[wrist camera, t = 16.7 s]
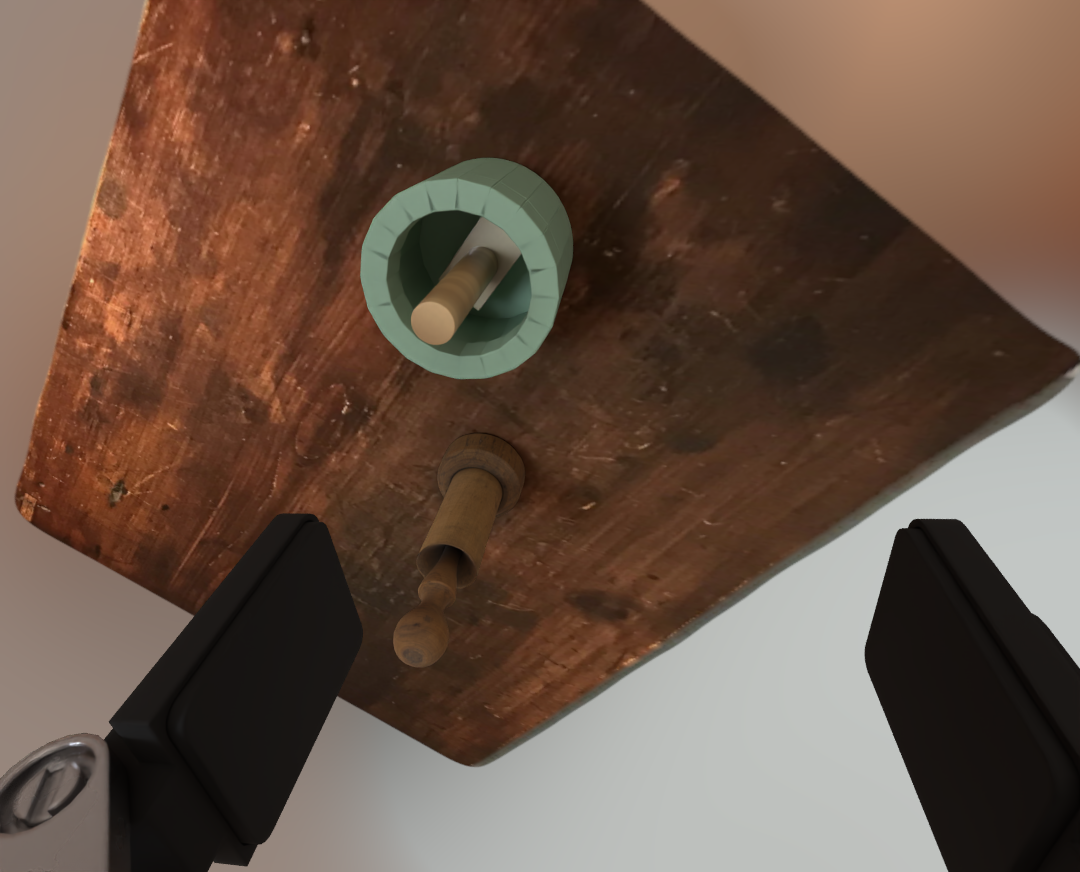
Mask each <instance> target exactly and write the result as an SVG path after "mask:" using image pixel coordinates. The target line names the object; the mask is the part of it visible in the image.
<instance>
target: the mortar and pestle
mask: <svg viewBox="0 0 1080 872" xmlns="http://www.w3.org/2000/svg"><path fill="white" fill-rule="evenodd" d="M437 480H438V486H439V489H440V491H441V493H442V495H443V497H444V500H443V502H442V504H441V507H440V509H439V511H438V513H437V515H436V518H435V520H434V522H433V524H432V526H431V529H430V531H429V533H428V535H427V537H426V539H425V541H424V543H423V545H422V548H421V550H420V552H419V554H418V556H417V567H418V570H419V572H420V573H421V574H422V576H423V577H424V580H423V581H422V583H421V585H420V586H419V589H418V594H419V597H420V599H421V600H422V601H421V603H420V605H419V606H418V607H416V608H414V609H413V610H411V611H410V612H408V613H407V614H406V615H405V616H403V617H402V619H401V620H400V621H399V622H398V624H397V626H396V628H395V632H394V637H393V644H394V649H395V652H396V654H397V656H398V657H399V658H400V659H401V661H403V662H404V663H406V664H408V665H410V666H413V667H426V666H429V665H431V664H433V663H435V662H436V661H437V660H438V659H439V658H440V657H441V656H442V655H443V654H444V652H445V650H446V648H447V645H448V642H449V630H448V626H447V622H446V619H445V616H444V609H445V608H447V607H449V606H451V605H452V604H453V603H454V601H455V597H456V589H460V588H464V587H467V586H469V585H470V584H472V583H473V582H474V581H475V579H476V577H477V574H478V571H479V568H480V564H481V561H482V557H483V554H484V551H485V547H486V544H487V541H488V538H489V535H490V531H491V528H492V525H493V522H494V519H495V517H498V516H501V515H504V514H506V513H507V512H509V511H510V510H511V509H512V508H513V507H514V506H515V505H516V503H517V501H518V499H519V497H520V494H521V491H522V487H523V484H524V480H525V468H524V464H523V461H522V459H521V457H520V456H519V455H518V453H517V452H516V451H515V450H514V448H513V447H512V446H510V445H509V444H508V443H507V442H505V441H503V440H502V439H500V438H497V437H495V436H492V435H488V434H482V433H474V434H468V435H464V436H462V437H460V438H458V439H456V440H455V441H454V442H453V443H452V444H451V445H450V446H449V447H448V449H447V450H446V452H445V455H444V457H443V459H442V461H441V463H440V466H439V469H438V474H437Z"/></svg>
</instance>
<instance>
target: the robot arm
mask: <svg viewBox="0 0 1080 872" xmlns="http://www.w3.org/2000/svg"><path fill="white" fill-rule="evenodd" d="M362 637H363V629H362V625H361V622H360V619H359V616H358V613H357V610H356V608H355V605H354V602H353V599H352V596H351V593H350V590H349V588H348V585H347V582H346V579H345V576H344V573H343V571H342V568H341V565H340V562H339V559H338V556H337V554H336V551H335V548H334V545H333V542H332V539H331V536H330V534H329V531H328V528H327V526H326V525H325V524H324V523H323V522H319V520H318V518H317V517H316V516H315V515H313V514H279V515H277V516H276V517H275V518H274V519H273V520H272V521H271V523H270V524H269V525H268V526H267V528H266V529H265V530H264V531H263V532H262V534H261V535H260V536H259V537H258V539H257V540H256V541H255V542H254V544H253V545H252V546H251V547H250V548H249V550H248V551H247V552H246V553H245V555H244V556H243V557H242V558H241V560H240V561H239V562H238V563H237V564H236V566H235V567H234V568H233V569H232V571H231V572H230V573H229V574H228V576H227V577H226V578H225V579H224V580H223V582H222V583H221V584H220V585H219V587H218V588H217V589H216V590H215V592H214V593H213V594H212V595H211V596H210V598H209V599H208V600H207V601H206V603H205V604H204V605H203V606H202V608H201V609H200V610H199V611H198V612H197V614H196V615H195V616H194V617H193V619H192V620H191V621H190V622H189V624H188V625H187V626H186V627H185V628H184V630H183V631H182V632H181V633H180V635H179V636H178V637H177V638H176V640H175V641H174V642H173V643H172V645H171V646H170V647H169V648H168V649H167V651H166V652H165V653H164V654H163V656H162V657H161V658H160V659H159V661H158V662H157V663H156V664H155V665H154V667H153V668H152V669H151V670H150V672H149V673H148V674H147V675H146V676H145V678H144V679H143V680H142V682H141V683H140V684H139V685H138V686H137V688H136V689H135V690H134V691H133V692H132V694H131V695H130V696H129V697H128V699H127V700H126V701H125V702H124V704H123V705H122V706H121V707H120V709H119V710H118V711H117V712H116V713H115V715H114V716H113V717H112V718H111V720H110V721H109V723H110V724H111V726H112V727H113V729H112V730H111V732H110V733H109V734H108V735H107V736H106V738H105V739H104V740H103V739H102V738H101V737H99V736H98V735H94V734H88V733H81V734H74V735H68V736H65V737H63V738H60V739H57V740H55V741H52V742H49V743H47V744H46V745H44V746H42V747H40V748H39V749H37V750H35V751H33V752H32V753H30V754H28V755H27V756H26V757H25V758H23V759H22V760H21V761H19V762H18V763H17V764H16V765H14V766H13V767H11V768H10V769H9V770H8V771H7V772H6V773H5V774H4V775H3V777H1V778H0V872H208V870H209V868H210V866H211V864H212V862H213V861H214V862H215V863H221V864H230V865H239V866H248V864H249V862H250V859H251V858H252V855H253V853H254V851H255V849H256V847H257V845H258V844H262V843H264V842H265V841H266V840H267V839H268V838H269V837H270V835H271V833H272V831H273V829H274V827H275V825H276V823H277V821H278V819H279V817H280V815H281V813H282V811H283V808H284V806H285V804H286V802H287V800H288V798H289V796H290V794H291V792H292V789H293V787H294V785H295V783H296V781H297V779H298V777H299V775H300V773H301V771H302V769H303V766H304V764H305V762H306V760H307V758H308V756H309V754H310V752H311V749H312V747H313V745H314V743H315V741H316V739H317V737H318V735H319V733H320V731H321V729H322V726H323V724H324V722H325V720H326V718H327V716H328V714H329V712H330V710H331V708H332V705H333V703H334V701H335V699H336V697H337V695H338V693H339V691H340V689H341V687H342V684H343V682H344V680H345V678H346V676H347V674H348V672H349V670H350V668H351V665H352V663H353V661H354V659H355V657H356V655H357V653H358V651H359V649H360V646H361V643H362ZM865 663H866V667H867V670H868V673H869V676H870V678H871V681H872V683H873V686H874V688H875V691H876V693H877V696H878V698H879V701H880V703H881V706H882V708H883V711H884V713H885V716H886V718H887V721H888V723H889V725H890V728H891V730H892V733H893V736H894V738H895V740H896V743H897V745H898V748H899V750H900V753H901V755H902V758H903V760H904V763H905V765H906V767H907V770H908V773H909V775H910V778H911V780H912V783H913V785H914V788H915V790H916V793H917V795H918V798H919V800H920V803H921V805H922V807H923V810H924V812H925V815H926V817H927V820H928V822H929V825H930V827H931V830H932V832H933V835H934V837H935V840H936V842H937V845H938V847H939V850H940V852H941V855H942V857H943V859H944V862H945V864H946V867H947V870H948V872H1080V668H1079V667H1078V666H1077V665H1076V663H1075V662H1074V661H1073V659H1072V658H1071V657H1070V655H1069V654H1068V653H1067V651H1066V650H1065V649H1064V647H1063V646H1062V645H1061V644H1060V642H1059V641H1058V640H1057V639H1056V637H1055V636H1054V634H1053V633H1052V632H1051V631H1050V629H1049V628H1048V627H1047V625H1046V624H1045V623H1044V622H1042V620H1041V619H1040V618H1039V617H1038V616H1036V615H1034V614H1032V613H1031V612H1030V611H1029V609H1028V608H1027V607H1026V605H1025V604H1024V603H1023V601H1022V600H1021V599H1020V598H1019V596H1018V595H1017V593H1016V592H1015V591H1014V590H1013V588H1012V587H1011V586H1010V584H1009V583H1008V581H1007V580H1006V579H1005V578H1004V576H1003V575H1002V573H1001V572H1000V571H999V569H998V568H997V567H996V566H995V564H994V563H993V562H992V560H991V559H990V558H989V556H988V555H987V554H986V552H985V551H984V550H983V548H982V547H981V546H980V544H979V543H978V542H977V540H976V539H975V538H974V536H973V535H972V534H971V532H970V531H969V530H968V528H967V527H966V526H965V525H964V524H963V523H962V522H961V521H959V520H957V519H915V520H913V521H912V522H911V523H910V524H909V527H908V528H902V529H899V530H898V532H897V534H896V536H895V540H894V543H893V547H892V550H891V555H890V558H889V561H888V565H887V569H886V573H885V576H884V580H883V583H882V587H881V591H880V594H879V598H878V602H877V605H876V609H875V613H874V616H873V620H872V623H871V628H870V631H869V635H868V639H867V642H866V646H865Z"/></svg>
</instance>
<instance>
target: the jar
mask: <svg viewBox="0 0 1080 872" xmlns="http://www.w3.org/2000/svg"><path fill="white" fill-rule="evenodd" d="M481 216H482V217H484V218H485V219H487V220H488V221H490V222H492V223H493V224H495V225H496V226H498V227H499V228H501V229H502V230H504V231H505V233H506V234H507V235H508V236H509V237H510V239H511V240H512V241H513V242H514V243H515V244H516V246H517V247H518V248H519V249H520V252H521V255H520V257H519V258H518V259H517V261H516V262H515V263H514V265H513V266H512V267H511V269H510V270H509V271H508V273H507V274H506V275H505V277H504V278H503V279H502V281H501V282H500V283H499V285H498V286H497V288H496V289H495V290H494V292H493V293H492V294H491V296H490V297H489V298H488V300H487V301H486V302H485V304H484V305H483V306H482V308H481V309H480V310H479V311H478V310H477V309H475V308H474V307H473V308H472V309H471V310H470V312H469V313H468V315H467V316H466V318H465V319H464V321H463V322H462V323H461V325H460V326H459V328H458V329H457V331H456V332H455V334H454V335H453V336H452V338H451V339H450V340H449V341H448V342H446V343H444V344H440V345H432V344H428V343H426V342H424V341H422V340H421V339H420V338H419V337H418V336H417V335H416V334H415V332H414V331H413V328H412V325H411V315H412V312H413V310H414V309H415V308H416V306H417V305H418V304H419V303H420V302H421V301H422V300H423V299H424V298H425V297H426V296H427V295H428V294H429V293H430V292H431V291H432V289H433V288H434V287H435V286H436V285H437V284H438V283H439V282H440V281H439V278H440V276H441V275H442V274H443V272H444V271H445V269H446V268H447V266H448V265H449V263H450V262H451V260H452V259H453V257H454V256H455V254H456V253H457V251H458V250H459V249H460V247H461V246H462V244H463V243H464V241H465V240H466V238H467V237H468V235H469V234H470V232H471V231H472V229H473V228H474V226H475V225H476V224H477V222H478V221H479V219H480V218H481ZM572 257H573V237H572V229H571V225H570V222H569V218H568V216H567V213H566V211H565V208H564V206H563V204H562V203H561V201H560V199H559V197H558V196H557V195H556V193H555V192H554V191H553V189H552V188H551V187H550V186H549V185H548V184H547V183H546V182H545V181H544V180H543V179H542V178H541V177H539V176H538V175H537V174H536V173H534V172H533V171H531V170H529V169H528V168H526V167H524V166H522V165H520V164H517V163H515V162H512V161H508V160H505V159H498V158H479V159H473V160H468V161H464V162H462V163H459V164H457V165H455V166H453V167H451V168H449V169H447V170H445V171H443V172H441V173H439V174H437V175H435V176H433V177H431V178H429V179H426V180H424V181H422V182H420V183H418V184H416V185H414V186H412V187H410V188H408V189H406V190H404V191H402V192H400V193H398V194H396V195H395V196H394V197H393V198H392V199H391V200H390V201H389V202H388V203H387V204H386V205H385V206H384V207H383V208H382V210H381V211H380V212H379V213H378V214H377V215H376V216H375V218H374V219H373V221H372V223H371V226H370V228H369V231H368V233H367V236H366V238H365V240H364V243H363V245H362V256H361V273H360V277H361V282H362V286H363V290H364V294H365V298H366V302H367V306H368V309H369V311H370V313H371V314H372V316H373V318H374V320H375V321H376V323H377V325H378V327H379V328H380V330H381V332H382V334H383V335H384V336H385V337H386V338H387V339H388V340H389V341H390V342H391V343H392V344H393V345H394V346H395V347H396V348H397V349H398V350H399V351H400V352H401V353H402V354H403V355H404V356H405V357H406V358H407V359H409V360H411V361H413V362H414V363H416V364H418V365H420V366H421V367H423V368H425V369H426V370H428V371H430V372H433V373H436V374H440V375H444V376H448V377H452V378H456V379H483V378H490V377H493V376H496V375H499V374H502V373H505V372H508V371H510V370H513V369H515V368H517V367H518V366H519V365H521V364H522V363H523V362H524V361H526V360H527V359H528V358H530V357H531V356H532V355H534V354H535V353H536V351H537V350H538V349H539V347H540V346H541V344H542V343H543V341H544V340H545V338H546V337H547V335H548V333H549V332H550V330H551V329H552V327H553V324H554V320H555V317H556V314H557V311H558V308H559V304H560V301H561V298H562V295H563V292H564V288H565V285H566V282H567V278H568V274H569V270H570V267H571V263H572Z"/></svg>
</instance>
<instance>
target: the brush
mask: <svg viewBox="0 0 1080 872" xmlns="http://www.w3.org/2000/svg"><path fill="white" fill-rule="evenodd" d="M520 255H521V252H520V249H519V248H518V247H517V246H516V244H515V243H514V242H513V241H512V240H511V239H510V237H509V236H508V235H507V234H506V233H505V231H504V230H502V229H501V228H499V227H498V226H496V225H495V224H493V223H492V222H490V221H488V220H487V219H485V218H484V217H482V216H481V218H480V219H479V221H478V222H477V224H476V225H475V226H474V228H473V229H472V231H471V232H470V234H469V235H468V237H467V238H466V240H465V241H464V243H463V244H462V246H461V247H460V249H459V250H458V251H457V253H456V254H455V256H454V257H453V259H452V260H451V262H450V263H449V265H448V266H447V268H446V269H445V271H444V272H443V274H442V275H441V276H440V278H439V281H440V282H439V283H438V284H437V285H436V286H435V287H434V288H433V289H432V291H431V292H430V293H429V294H428V295H427V296H426V297H425V298H424V299H423V300H422V301H421V302H420V303H419V304H418V305H417V306H416V308H415V309H414V310H413V312H412V315H411V325H412V328H413V331H414V332H415V334H416V335H417V336H418V337H419V338H420V339H421V340H422V341H424V342H426V343H428V344H432V345H440V344H444V343H446V342H448V341H449V340H450V339H451V338H452V336H453V335H454V334H455V332H456V331H457V329H458V328H459V326H460V325H461V323H462V322H463V321H464V319H465V318H466V316H467V315H468V313H469V312H470V310H471V309H472V308H473V307H474V308H475V309H477V310H478V311H479V310H480V309H481V308H482V306H483V305H484V304H485V302H486V301H487V300H488V298H489V297H490V296H491V294H492V293H493V292H494V290H495V289H496V288H497V286H498V285H499V283H500V282H501V281H502V279H503V278H504V277H505V275H506V274H507V273H508V271H509V270H510V269H511V267H512V266H513V265H514V263H515V262H516V261H517V259H518V258H519V257H520Z"/></svg>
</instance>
